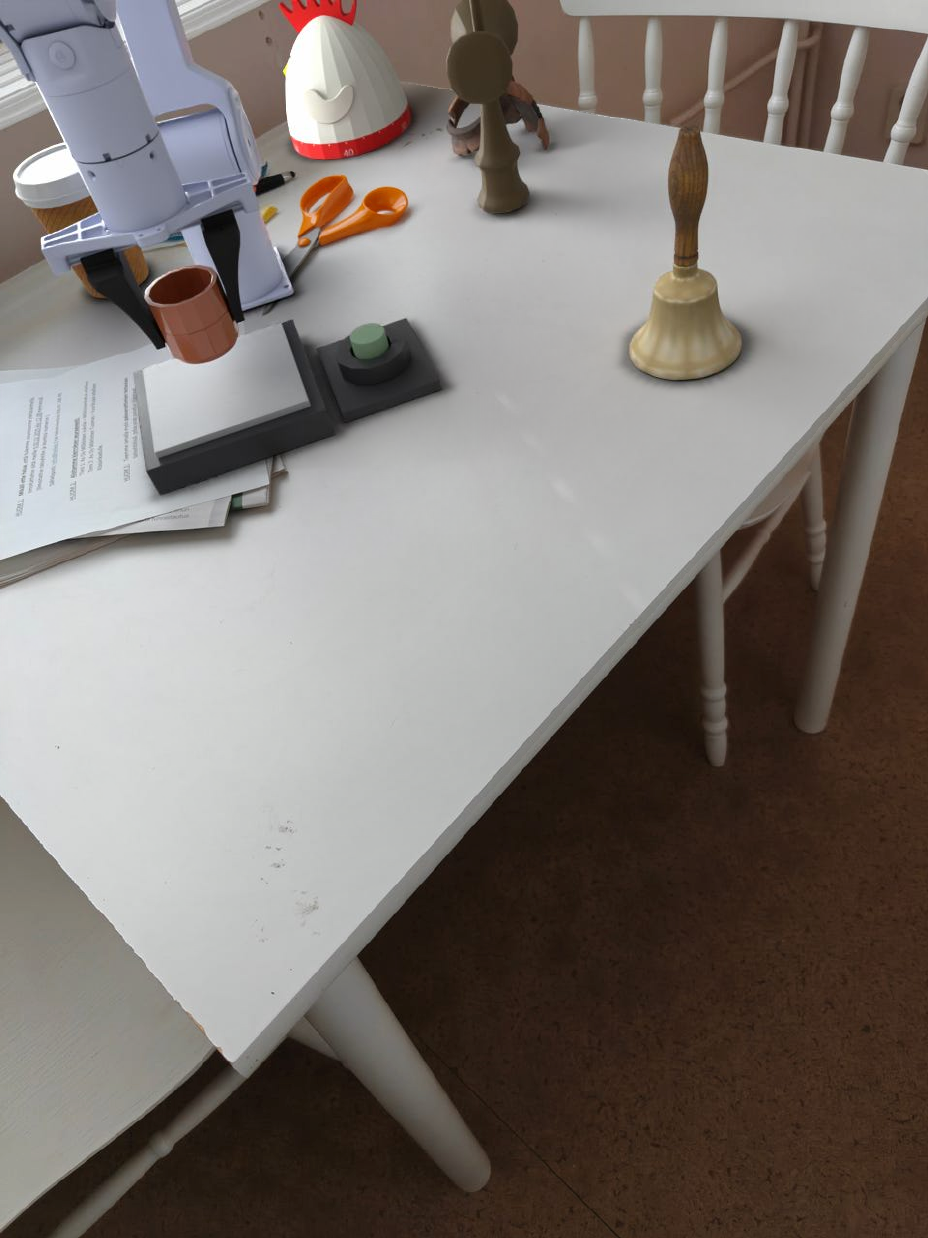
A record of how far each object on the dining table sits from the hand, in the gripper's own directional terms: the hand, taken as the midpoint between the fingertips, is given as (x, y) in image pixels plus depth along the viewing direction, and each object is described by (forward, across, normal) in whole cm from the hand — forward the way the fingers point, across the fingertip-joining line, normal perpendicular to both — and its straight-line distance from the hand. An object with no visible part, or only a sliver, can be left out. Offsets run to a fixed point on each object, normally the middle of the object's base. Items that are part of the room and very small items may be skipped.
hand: (199, 329), depth 69 cm
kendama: (+8, +30, +19) cm, 36 cm away
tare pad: (+8, +12, -1) cm, 14 cm away
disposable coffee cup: (+8, -8, +29) cm, 31 cm away
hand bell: (+8, +34, -11) cm, 36 cm away
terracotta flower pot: (+1, 0, 0) cm, 1 cm away
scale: (+8, 0, 0) cm, 8 cm away
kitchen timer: (+8, +21, +47) cm, 52 cm away
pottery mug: (+8, +34, +31) cm, 47 cm away
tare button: (+6, +12, -1) cm, 13 cm away
